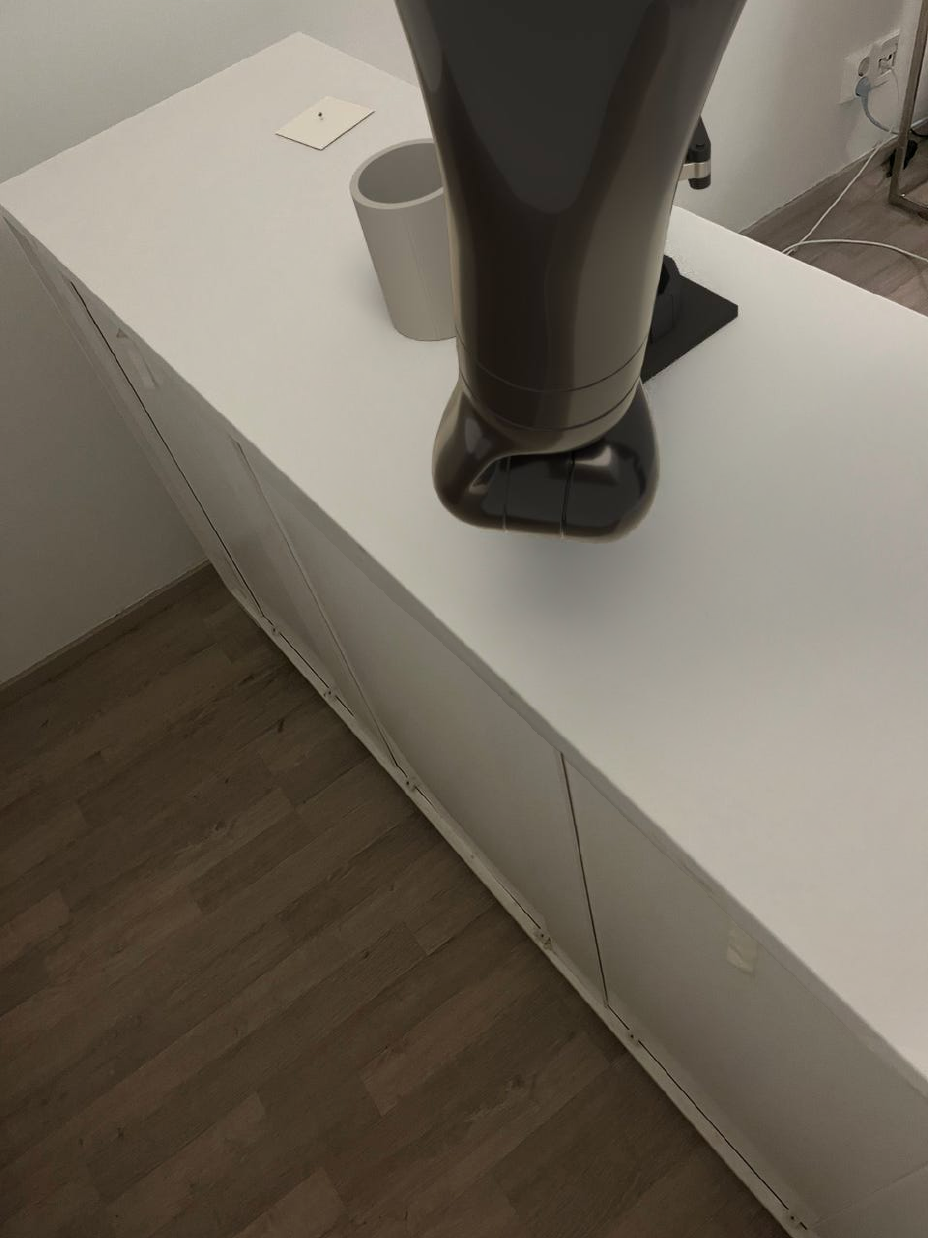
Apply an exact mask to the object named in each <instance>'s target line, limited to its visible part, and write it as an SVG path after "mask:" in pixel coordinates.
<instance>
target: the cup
mask: <svg viewBox="0 0 928 1238" xmlns="http://www.w3.org/2000/svg"><path fill="white" fill-rule="evenodd" d="M348 185H349V187H348V188H349V193H350V197H351V199H352V203H353V205H354V209H355V212H356V215H357V218H358V221H359V225H360V228H361V230H362V234H363V237H364V239H365V243H366V246H367V249H368V252H369V256H370V258H371V262H372V264H373V268H374V271H375V274H376V277H377V281H378V283H379V285H380V289H381V292H382V296H383V299H384V302H385V305H386V308H387V311H388V314H389V318H390V320H391V321H390V322H391V323H392V325H393V327H394V328H395V330H397V332H398V333H399V334H402V335H403V336H405V337H407V338H409V339H412V340H416V341H427V342H431V341H443V340H447V339H451V338H454V337H456V334H455V325H454V314H453V304H452V293H451V280H450V267H449V252H448V236H447V222H446V211H445V201H444V193H443V187H442V180H441V174H440V169H439V164H438V159H437V154H436V149H435V145H434V141H433V137H427V138H425V137H423V138H415V139H410V140H405V141H402V142H399V143H396V144H391V145H390V146H387V147H385V148H384V149H381V150H379V151H377V152H375V153H374V154H372V155H371V156H369V157H368V158H367V159H365V160H364V161H363V162H362V163H361V164H360V165H359V166H358V167H357V168H356V170H355V171H353V174H352V175H351V177H350V180H349V184H348Z"/></svg>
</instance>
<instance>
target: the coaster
mask: <svg viewBox="0 0 928 1238" xmlns="http://www.w3.org/2000/svg"><path fill="white" fill-rule="evenodd" d="M374 111H375V109H372V108H369V107H365V106H362V105H360V104H356V103H353V102H349V101H346V100H343V99H340V98H337V97H334V96H330V95H325V96H324V97H323V98H321V99H320V100H318V101H317V102H315V103H314V104H313V105H311V106H310V107H308V108H307V109H306V110H304V111H303V112H302V113H300V114H299V115H297V116H296V117H294V118H293V119H291V120H290V121H289V122H287V123H286V124H285V125H283V126H282V127H281V128H279V129H277V130H276V131H275V132H274V134H276V135H279V136H282V137H285V138H288V139H290V140H293V141H296V142H299V143H301V144H304V145H307V146H310V147H313V148H315V149H318V150H323V149H324V148H325V147H326V146H329V144H331V143H332V142H334V141H335V140H336V139H338V138H339V137H340V136H342V135H343V134H344V133H346V132H347V131H348V130H350V129H351V128H353V127H354V126H355V125H357V124H358V123H359V122H361V121H363V119H365V118H366V117H368V116H369V115H370V114H373V112H374Z"/></svg>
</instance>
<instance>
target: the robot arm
mask: <svg viewBox="0 0 928 1238" xmlns="http://www.w3.org/2000/svg"><path fill="white" fill-rule="evenodd" d="M393 2H394V5H395V8H396V11H397V14H398V17H399V21H400V24H401V26H402V30H403V33H404V36H405V40H406V42H407V45H408V49H409V51H410V56H411V59H412V62H413V63H412V64H413V67H414V70H415V73H416V77H417V81H418V85H419V89H420V92H421V96H422V100H423V104H424V107H425V112H426V115H427V119H428V124H429V128H430V131H431V136H432V138H433V141H434V145H435V149H436V154H437V159H438V164H439V169H440V174H441V180H442V187H443V193H444V201H445V211H446V222H447V236H448V252H449V267H450V280H451V293H452V304H453V314H454V325H455V334H456V336H455V342H456V343H455V344H456V352H457V359H458V378H457V382H456V384H455V387H454V388H453V390H452V392H451V395H450V397H449V398H448V401H447V403H446V405H445V408H444V410H443V413H442V415H441V417H440V420H439V424H438V427H437V431H436V434H435V438H434V442H433V447H432V452H431V453H432V454H431V479H432V484H433V485H432V486H433V488H434V491H435V492H434V493H435V495H436V497H437V499H438V501H439V503H440V504H441V505H442V507H443V508H444V509H445V511H447V512H448V513H449V514H450V515H451V516H452V517H454V518H455V519H456V520H458V521H459V522H460V523H462V524H465V525H467V526H470V527H473V528H477V529H481V530H486V531H493V532H500V533H506V532H507V533H511V534H516V535H517V534H518V535H526V536H532V537H541V538H548V539H555V540H561V539H562V540H563V541H569V542H577V543H585V544H594V545H598V544H610V543H615V542H618V541H620V540H622V539H624V538H626V537H627V536H629V535H630V534H631V533H633V532H634V531H635V530H637V528H638V527H639V526H640V525H641V524H642V523H643V522H644V520H645V519H646V518H647V516H648V514H649V512H650V511H651V509H652V508H653V505H654V503H655V500H656V497H657V493H658V489H659V484H660V477H661V451H660V443H659V436H658V432H657V427H656V422H655V419H654V416H653V411H652V408H651V404H650V402H649V398H648V396H647V393H646V390H645V386H644V383H643V384H642V381H641V378H640V372H641V367H642V363H643V359H644V354H645V349H646V345H647V340H648V335H649V331H650V326H651V321H652V316H653V311H654V306H655V301H656V295H657V290H658V285H659V279H660V274H661V268H662V262H663V256H664V254H665V249H666V243H667V237H668V232H669V225H670V219H671V214H672V211H673V210H672V209H673V205H674V201H675V197H676V194H677V193H676V192H677V189H678V185H679V182H681V181H685V180H687V181H688V184H689V187H690V188H691V189H693V190H697V191H701V190H705V189H707V188H709V187H710V186H711V184H712V177H711V176H712V142H711V139H710V137H709V133H708V132H707V128H706V126H705V123H704V121H703V118H702V112H703V110H704V107H705V104H706V101H707V99H708V97H709V94H710V91H711V89H712V86H713V84H714V81H715V78H716V75H717V73H718V70H719V67H720V65H721V62H722V60H723V57H724V55H725V52H726V50H727V47H728V45H729V43H730V40H731V38H732V36H733V34H734V31H735V30H736V27H737V24H738V23H739V20H740V18H741V16H742V13H743V11H744V9H745V6H746V4H747V2H748V0H393Z"/></svg>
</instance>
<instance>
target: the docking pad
mask: <svg viewBox="0 0 928 1238" xmlns="http://www.w3.org/2000/svg"><path fill="white" fill-rule="evenodd" d="M737 317H739V305H738V304H736V303H734V302H733V301H731V300H729V299H727V298H726V297H723V296H722V295H720V294H718V293H716V292H714V291H712V290H710V289H708V288H707V287H705V286H703V285H701V284H699V283H697V282H695V281H694V280H692V279H690V278H688V277H686V276H685V275H683V274H681V273H680V270H679V267H678V265H677V263H676V260H674V259H673V258H672V257H671V256H669V255H667V254H665V253H664V256H663V262H662V268H661V274H660V279H659V285H658V290H657V295H656V301H655V306H654V311H653V316H652V321H651V326H650V331H649V335H648V340H647V345H646V349H645V354H644V359H643V363H642V367H641V372H640V378H641V381H642V384H643V385H644V384H645V383H646V382H647V381H649V380H650V379H652V378H653V377H655V376H656V375H657V374H659V373H660V372H661V371H663V370H664V369H666V368H667V367H669V366H670V365H671V364H673V363H674V362H675V361H677V360H678V359H680V358H681V357H683V356H684V355H685V354H687V353H688V352H690V351H691V350H692V349H693V348H695V347H696V346H698V345H700V344H701V343H702V342H703V341H705V340H707V339H708V338H709V337H711V336H712V335H713V334H715V333H716V332H719V330H720V329H722V328H723V327H724V326H726V325H728V324H729V323H730V322H732V321H733V320H734V319H736V318H737Z"/></svg>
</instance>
